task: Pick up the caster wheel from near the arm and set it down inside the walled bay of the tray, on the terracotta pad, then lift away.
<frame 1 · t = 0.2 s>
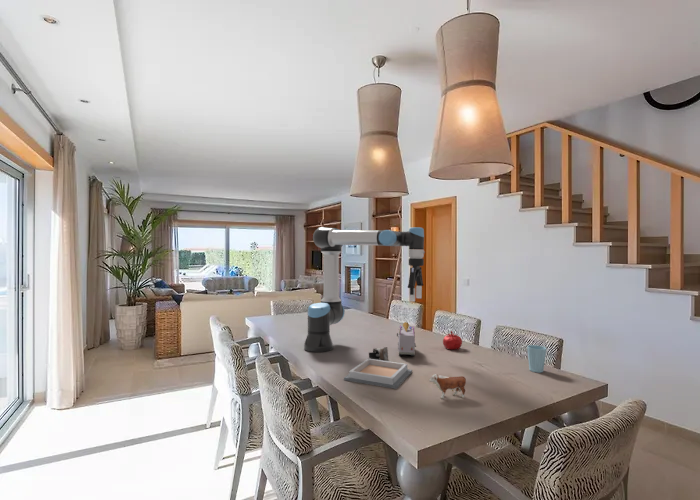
hand: (415, 299, 192), 28 cm above the table, tool pointing down, fingers open, 13 cm apart
cup: (536, 371, 168), on the table
bull figurine: (448, 397, 136), on the table
tray: (379, 375, 158), on the table
toy vehicle: (405, 353, 194), on the table
pomegranate: (452, 348, 204), on the table
caster wheel: (378, 361, 180), on the table
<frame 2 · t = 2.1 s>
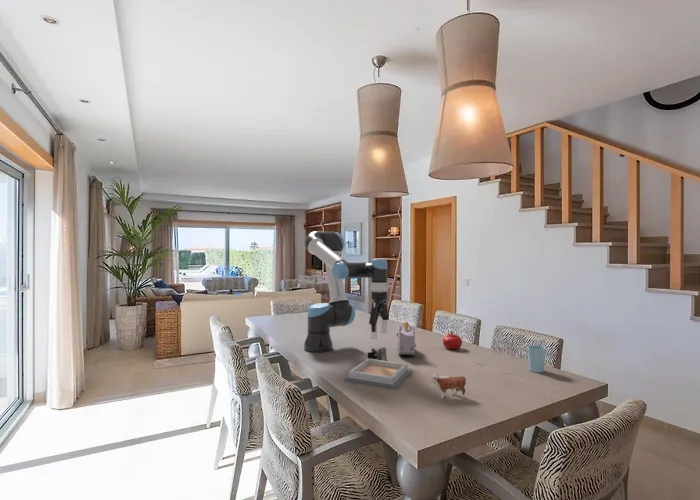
hand: (379, 336, 180), 12 cm above the table, tool pointing down, fingers open, 13 cm apart
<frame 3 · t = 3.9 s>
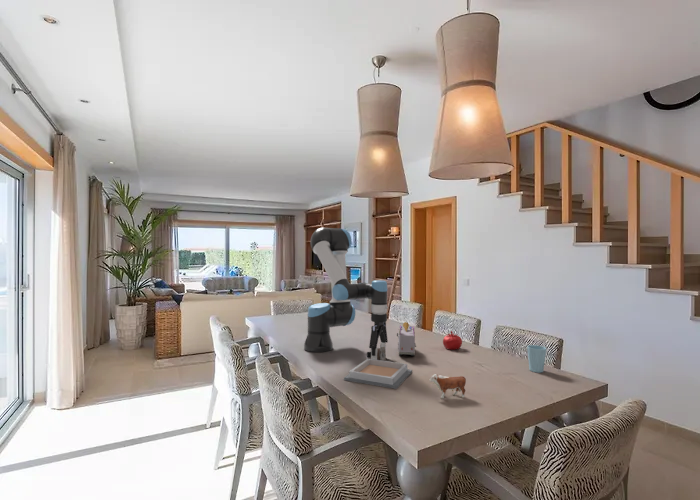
hand: (378, 359, 180), 1 cm above the table, tool pointing down, fingers closed on caster wheel, 11 cm apart
caster wheel: (375, 360, 181), on the table, touching gripper
everything else where it was.
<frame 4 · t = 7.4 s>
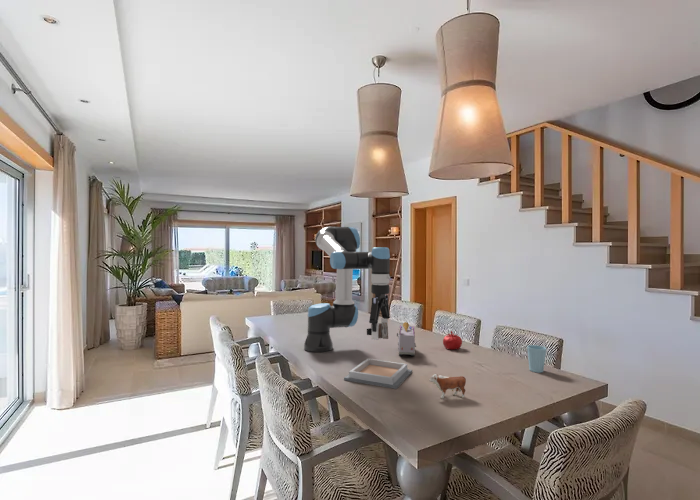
hand: (379, 336, 159), 16 cm above the table, tool pointing down, fingers closed on caster wheel, 11 cm apart
caster wheel: (376, 338, 159), point 16 cm above the table, touching gripper
everything else where it was.
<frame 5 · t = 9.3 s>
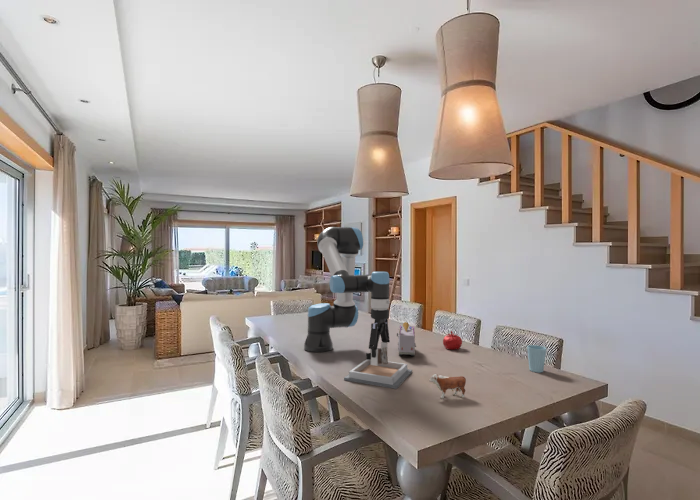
hand: (379, 361, 158), 6 cm above the table, tool pointing down, fingers closed on caster wheel, 11 cm apart
caster wheel: (376, 363, 158), point 5 cm above the table, touching gripper
everything else where it was.
when the fingers open (4 cm above the table, at t = 10.9 s): caster wheel drops 2 cm, resting on tray.
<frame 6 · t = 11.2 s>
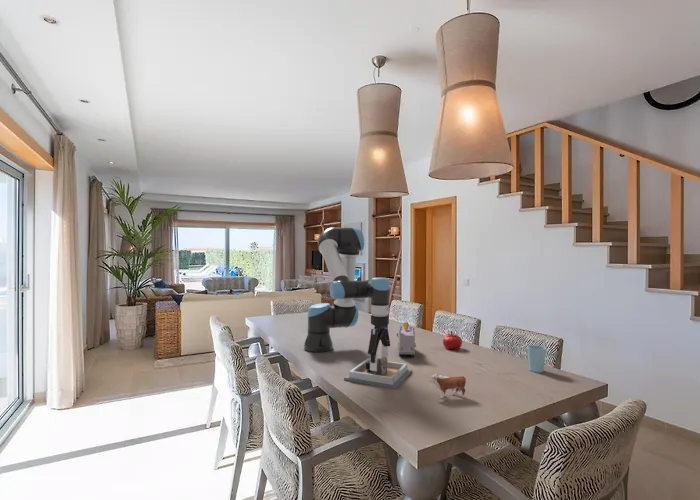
hand: (379, 365, 158), 4 cm above the table, tool pointing down, fingers open, 13 cm apart
caster wheel: (375, 373, 158), point 1 cm above the table, touching tray
everything else where it was.
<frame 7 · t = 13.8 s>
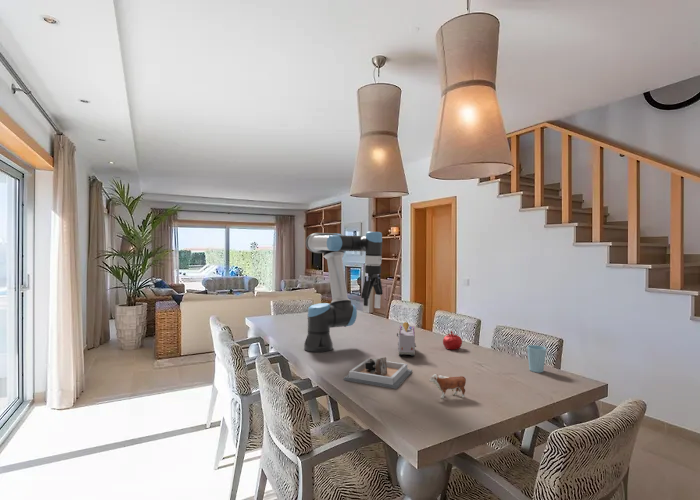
hand: (371, 310, 177), 24 cm above the table, tool pointing down, fingers open, 13 cm apart
nothing on the table moved.
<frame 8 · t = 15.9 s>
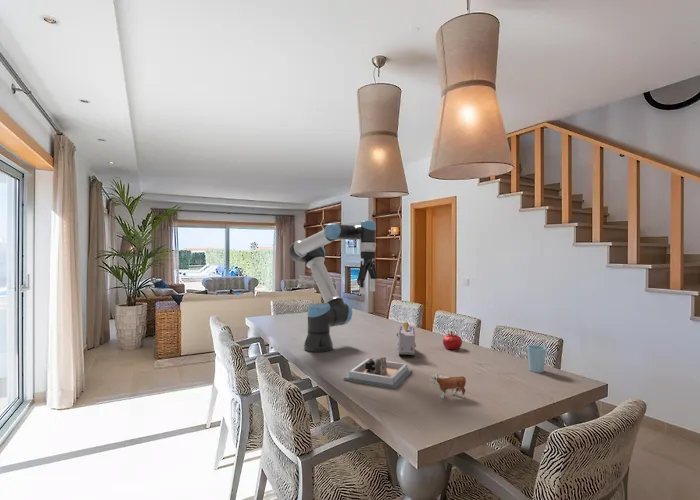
hand: (367, 292, 194), 31 cm above the table, tool pointing down, fingers open, 13 cm apart
nothing on the table moved.
at the end: caster wheel inside the target area on the tray (1.7 cm from its centre), point 1.1 cm above the tray's base; caster wheel tilted 0°; the gripper is holding nothing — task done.
